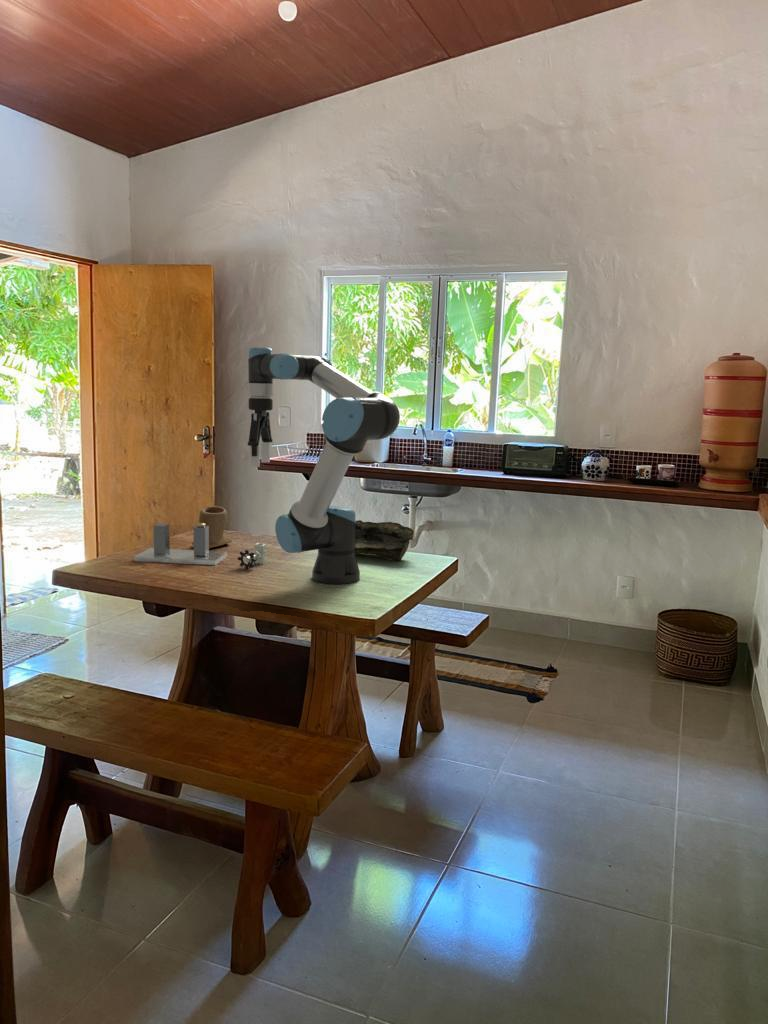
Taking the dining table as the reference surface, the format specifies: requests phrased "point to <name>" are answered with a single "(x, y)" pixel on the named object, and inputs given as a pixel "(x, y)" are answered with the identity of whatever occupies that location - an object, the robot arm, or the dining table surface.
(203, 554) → the block
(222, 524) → the stone cup
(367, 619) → the dining table surface
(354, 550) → the robot arm
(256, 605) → the dining table surface
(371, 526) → the rock
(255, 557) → the valve
